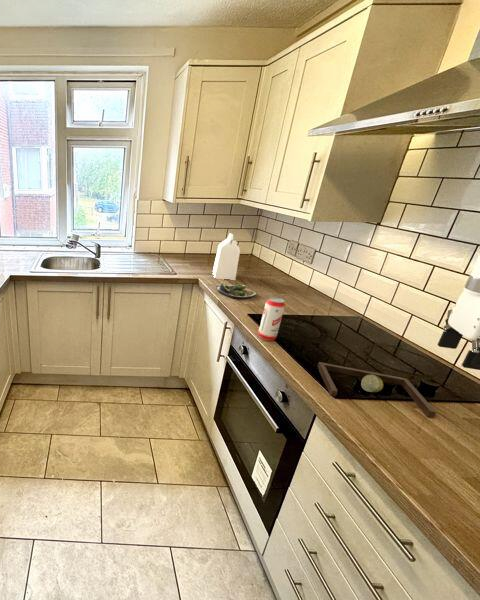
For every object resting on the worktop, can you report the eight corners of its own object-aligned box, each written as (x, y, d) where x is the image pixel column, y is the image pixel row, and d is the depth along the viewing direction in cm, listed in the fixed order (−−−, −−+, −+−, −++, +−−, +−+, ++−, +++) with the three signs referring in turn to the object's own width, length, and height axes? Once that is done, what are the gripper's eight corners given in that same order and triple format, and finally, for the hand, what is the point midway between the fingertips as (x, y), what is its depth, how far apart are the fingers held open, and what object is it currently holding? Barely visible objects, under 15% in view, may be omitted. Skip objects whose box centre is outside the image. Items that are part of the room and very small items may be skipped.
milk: (212, 273, 201) (219, 232, 191) (231, 274, 198) (239, 233, 188) (214, 278, 190) (222, 235, 180) (235, 280, 187) (244, 236, 177)
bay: (404, 383, 96) (407, 378, 95) (433, 418, 83) (436, 412, 82) (317, 367, 104) (318, 361, 103) (330, 395, 91) (332, 390, 90)
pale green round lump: (377, 397, 90) (383, 383, 88) (356, 388, 94) (362, 374, 92) (382, 391, 93) (388, 377, 91) (361, 383, 96) (367, 369, 94)
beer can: (278, 338, 122) (289, 300, 116) (270, 343, 118) (281, 304, 112) (262, 332, 127) (272, 295, 120) (254, 336, 123) (263, 298, 117)
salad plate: (236, 285, 179) (238, 277, 177) (264, 295, 164) (266, 287, 162) (210, 289, 172) (211, 281, 170) (237, 301, 157) (238, 292, 155)
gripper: (555, 304, 57) (509, 382, 64) (490, 277, 72) (458, 343, 78) (496, 298, 60) (458, 373, 67) (445, 274, 75) (418, 337, 81)
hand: (458, 357), depth 72 cm, fingers open, 9 cm apart
